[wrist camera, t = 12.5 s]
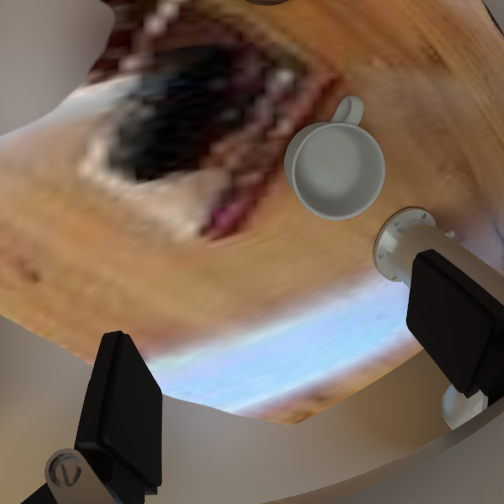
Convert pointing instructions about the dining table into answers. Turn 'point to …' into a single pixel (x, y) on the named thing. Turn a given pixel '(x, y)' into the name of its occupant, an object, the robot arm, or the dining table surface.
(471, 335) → the robot arm
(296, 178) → the teacup
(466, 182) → the dining table surface
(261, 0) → the brown round dish
